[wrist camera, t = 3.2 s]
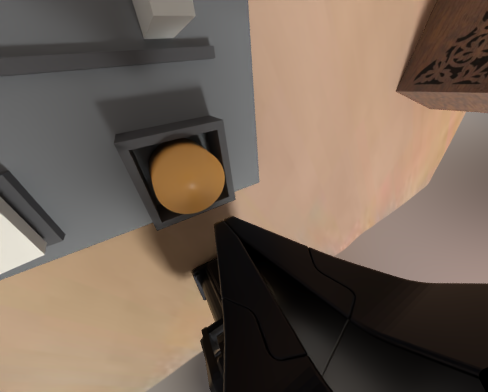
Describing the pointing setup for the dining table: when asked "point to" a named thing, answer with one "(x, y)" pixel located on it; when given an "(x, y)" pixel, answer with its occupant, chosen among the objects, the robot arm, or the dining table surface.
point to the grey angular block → (163, 17)
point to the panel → (115, 113)
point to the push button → (185, 176)
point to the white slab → (17, 240)
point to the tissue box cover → (451, 59)
